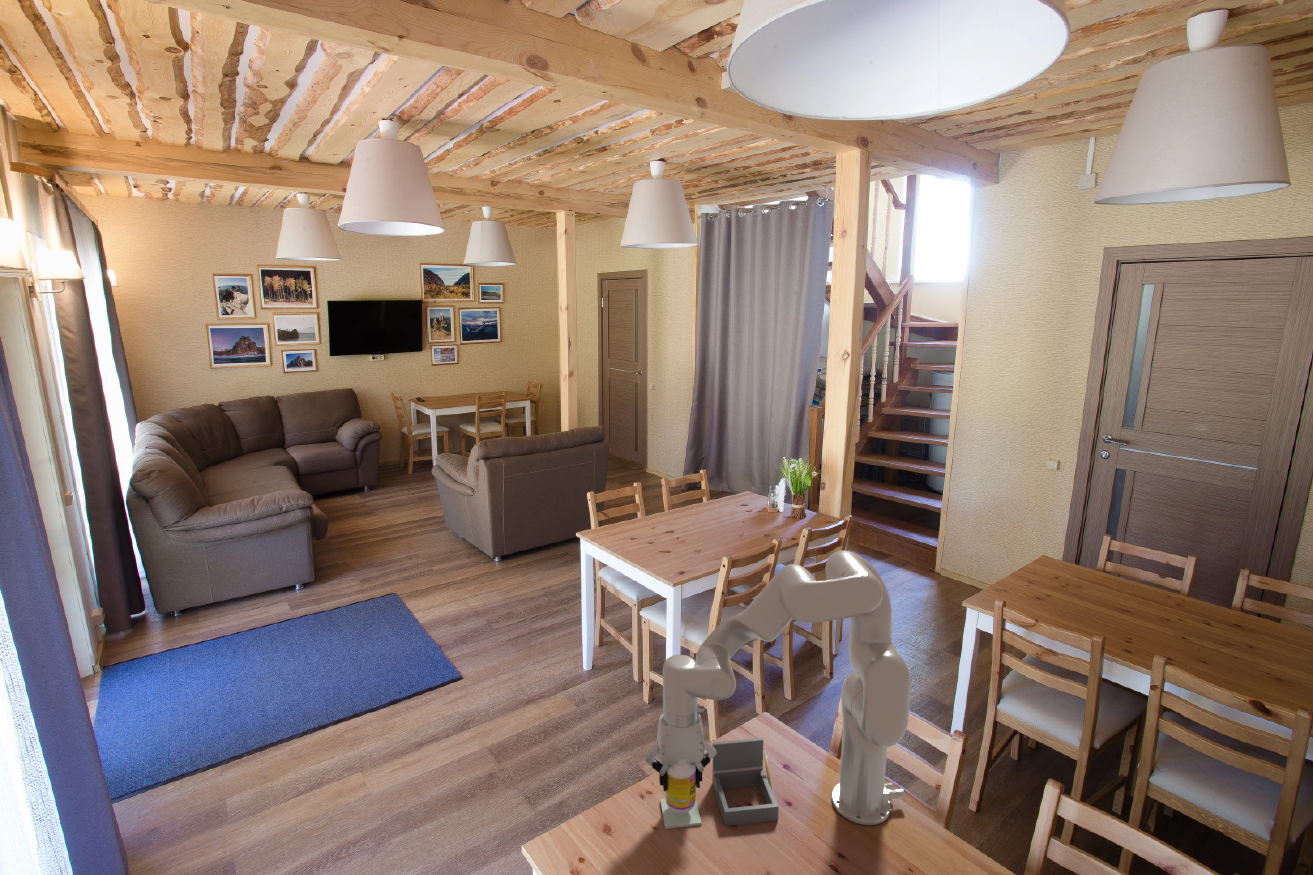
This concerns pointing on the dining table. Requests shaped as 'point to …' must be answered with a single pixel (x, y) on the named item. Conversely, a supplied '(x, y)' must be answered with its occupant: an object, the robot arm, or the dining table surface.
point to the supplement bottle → (681, 786)
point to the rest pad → (679, 817)
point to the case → (743, 780)
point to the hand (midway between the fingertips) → (680, 784)
